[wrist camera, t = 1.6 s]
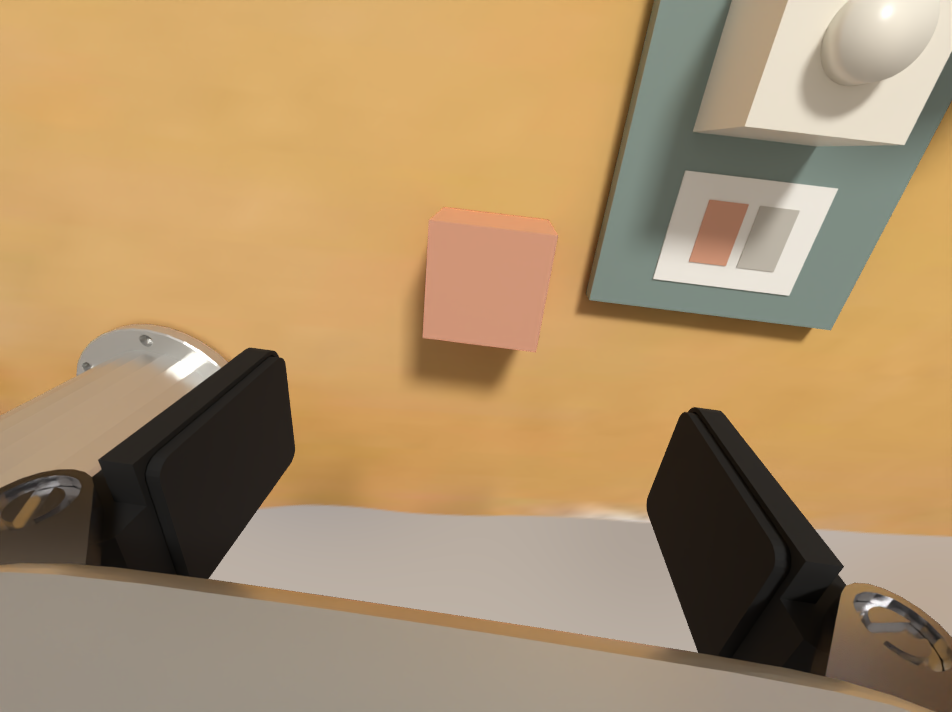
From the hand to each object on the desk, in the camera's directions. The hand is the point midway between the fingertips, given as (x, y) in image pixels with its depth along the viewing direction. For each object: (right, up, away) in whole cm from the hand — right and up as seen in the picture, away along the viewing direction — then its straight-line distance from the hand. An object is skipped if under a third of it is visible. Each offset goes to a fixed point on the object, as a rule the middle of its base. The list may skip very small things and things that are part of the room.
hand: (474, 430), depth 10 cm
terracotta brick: (+1, +7, +15) cm, 17 cm away
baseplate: (+14, +12, +12) cm, 22 cm away
